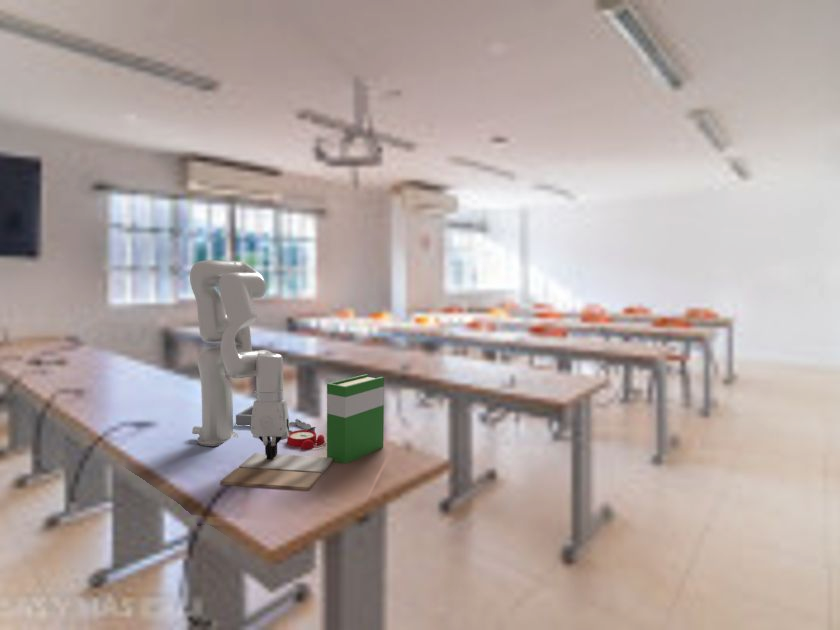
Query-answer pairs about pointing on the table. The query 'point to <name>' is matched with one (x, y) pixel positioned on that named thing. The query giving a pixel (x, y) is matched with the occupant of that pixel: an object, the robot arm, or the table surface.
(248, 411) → the grey tray
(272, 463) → the grey oak plank
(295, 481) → the walnut plank
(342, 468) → the table surface
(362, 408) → the hardback book
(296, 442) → the alarm clock
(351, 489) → the table surface
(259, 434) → the robot arm
